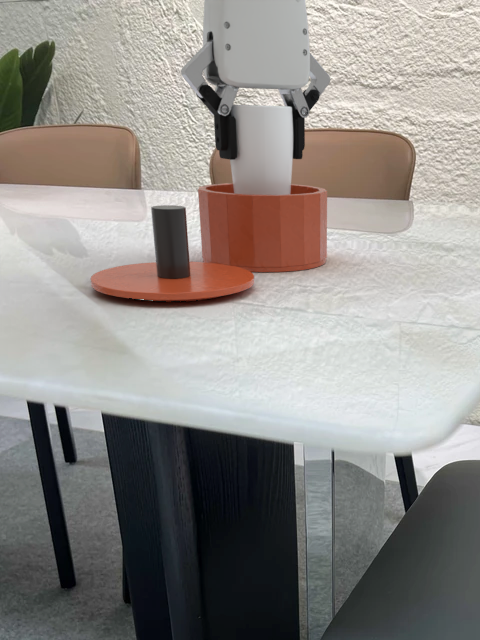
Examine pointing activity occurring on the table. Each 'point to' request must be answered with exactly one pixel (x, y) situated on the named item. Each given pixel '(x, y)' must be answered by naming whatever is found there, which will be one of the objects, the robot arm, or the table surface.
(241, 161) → the drinking glass
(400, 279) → the table surface
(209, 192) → the pot
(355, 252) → the table surface
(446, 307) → the table surface
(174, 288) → the lid
